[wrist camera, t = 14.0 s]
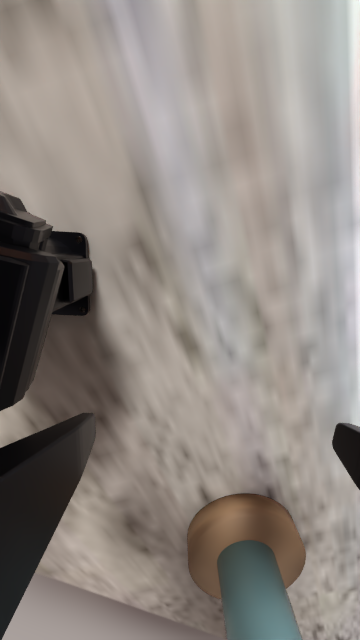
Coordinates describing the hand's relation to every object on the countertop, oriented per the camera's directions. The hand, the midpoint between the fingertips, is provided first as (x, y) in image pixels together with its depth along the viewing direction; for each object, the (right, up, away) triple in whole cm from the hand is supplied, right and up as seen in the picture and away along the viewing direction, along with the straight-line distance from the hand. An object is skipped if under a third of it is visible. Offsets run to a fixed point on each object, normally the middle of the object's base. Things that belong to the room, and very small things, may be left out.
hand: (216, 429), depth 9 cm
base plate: (+6, -20, +19) cm, 28 cm away
